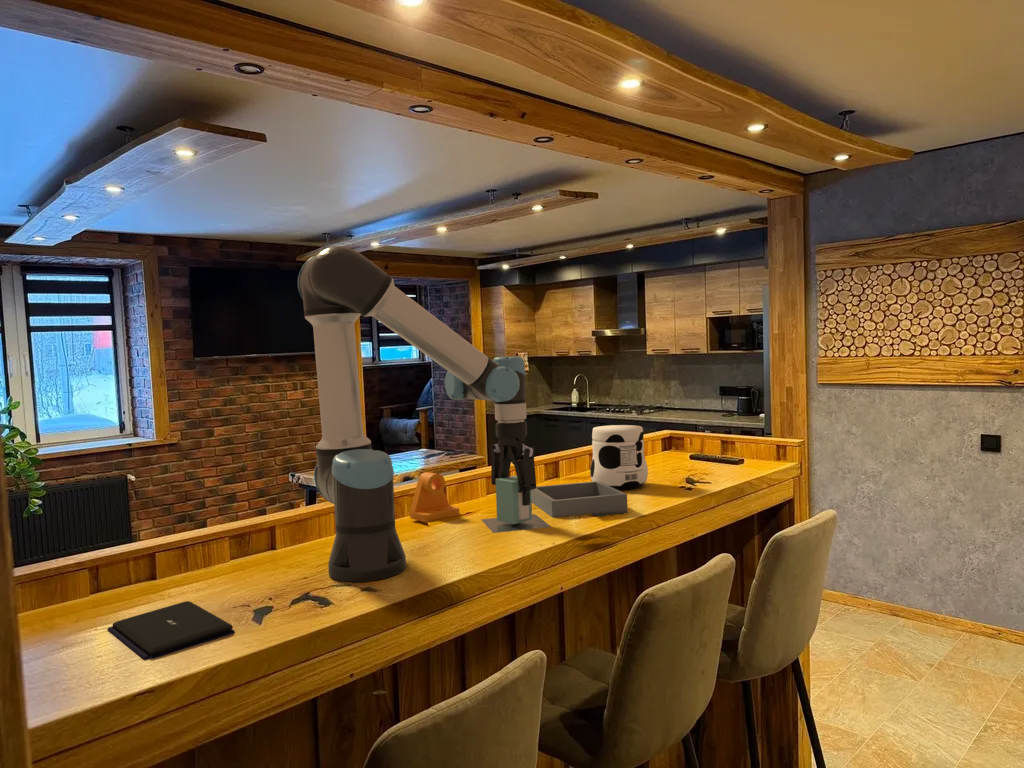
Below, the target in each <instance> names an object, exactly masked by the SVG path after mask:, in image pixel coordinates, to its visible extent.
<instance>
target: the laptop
mask: <svg viewBox="0 0 1024 768" xmlns="http://www.w3.org/2000/svg"><path fill="white" fill-rule="evenodd" d="M111 625H112V626H109V627H108V628H107V631H108V632H109V633H110V634H111V635H112V636H114V638H116V639H117V640H119V641H120V642H121V643H122V644H123V645H125V646H126V647H127V648H128V649H129V650H131V651H132V652H133V653H135V654H136V655H137V656H138V657H140V659H142V660H143V661H146V660H149V659H151V660H155V659H157V658H160V657H162V656H163V657H164V656H167V655H169V654H172V653H176V652H179V651H182V650H185V649H189V648H192V647H195V646H198V645H201V644H205V643H207V642H211V641H214V640H216V639H217V640H218V639H221V638H224V637H227V636H231V635H233V634H235V633H236V632H235V629H234V627H233V625H232V624H231V623H229V622H227V621H225V620H224V619H222V618H221V617H218V616H217V615H216V614H215V615H214V614H213V613H211V612H209V611H208V610H206V609H204V608H203V607H200V606H199V605H197V604H195V603H193V602H192V601H189V600H187V601H183V602H177V603H176V604H171V605H169V606H165V607H162V608H158V609H155V610H152V611H148V612H144V613H141V614H138V615H134V616H131V617H128V618H124V619H120V620H118V621H115V622H113V623H112V624H111Z"/></svg>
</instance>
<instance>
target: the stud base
mask: <svg viewBox="0 0 1024 768" xmlns="http://www.w3.org/2000/svg"><path fill="white" fill-rule="evenodd" d="M480 521H481V522H482V523H484V525H485V526H486V527H487V529H489V530H490V531H491V532H492V533H493V534H495V533H496V534H497V533H506V532H508V533H509V532H515V531H525V530H526V531H527V530H536V529H546V528H552V526H551V525H550V524H549V523H547V522H546V521H545V520H544V519H542V518H541V517H540V516H539V515H537V514H536V513H532V520H529V521H525V522H521V523H517V524H510V523H506V522H501V521H497V517H492V518H491V517H490V518H482V519H480Z"/></svg>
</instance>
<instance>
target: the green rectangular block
mask: <svg viewBox="0 0 1024 768" xmlns="http://www.w3.org/2000/svg"><path fill="white" fill-rule="evenodd" d="M524 487H525V486H524ZM519 490H520V487H519V483H518V478H517V475H511V476H510V475H509V476H508V477H505V478H500V479H497V478H496V485H495V501H496V504H495V505H496V518H497V521H501V522H506V523H510V524H517V523H521V522H525V521H529V520H532V514H533V508H532V507H533V506H532V505H533V503H532V500H531V491H530V505H529V518H527V519H523V520H519V509H518V491H519Z"/></svg>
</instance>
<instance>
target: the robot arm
mask: <svg viewBox="0 0 1024 768" xmlns="http://www.w3.org/2000/svg"><path fill="white" fill-rule="evenodd" d="M297 289H298V292H299V295H300V298H301V299H302V301H303V302H302V303H303V311H304V314H303V315H304V318H305V320H306V321H308V322H309V324H311V326H312V328H313V329H312V330H313V340H314V341H313V342H314V352H315V353H314V355H315V366H316V377H317V388H318V401H319V402H318V403H319V414H320V415H319V416H320V424H321V425H320V426H321V427H320V428H321V436H322V437H321V439H320V441H319V442H318V443H317V444H316V445H315V454H316V464H315V467H314V473H313V480H314V484H315V487H316V489H317V491H318V493H319V494H320V496H322V498H324V499H325V500H326V501H328V502H329V503H330V504H333V505H334V521H335V523H334V525H335V537H334V540H333V545H332V549H331V552H330V555H329V560H328V565H327V566H328V567H327V568H328V576H329V577H330V578H332V579H333V580H337V581H342V582H354V583H355V582H369V581H377V580H383V579H387V578H390V577H392V576H396V575H398V574H401V573H403V571H405V570H406V568H407V559H406V558H407V556H406V553H405V551H404V547H403V546H402V543H401V540H400V537H399V534H398V532H397V530H396V529H397V528H396V516H395V515H396V513H395V491H394V490H395V489H394V488H395V487H394V486H395V485H394V474H395V471H394V467H393V460H392V457H391V456H390V455H389V454H388V453H386V452H384V451H382V450H377V449H376V450H374V449H373V447H372V441H371V439H370V438H368V437H367V436H366V435H365V434H364V428H363V427H364V426H363V417H362V416H363V415H362V414H363V413H362V405H361V392H360V390H361V389H360V379H359V365H358V355H357V354H358V353H357V352H358V351H357V339H356V328H355V326H356V325H355V323H356V321H357V320H358V319H359V318H360V317H361V316H363V317H364V318H366V317H373V318H374V319H376V320H377V321H378V322H380V323H381V324H382V325H384V326H385V327H386V328H388V330H389V329H390V331H392V332H394V333H395V334H396V335H398V336H399V337H401V338H402V339H403V340H404V341H406V342H407V343H408V344H410V345H412V346H413V347H414V348H415V349H417V350H418V351H420V352H421V353H422V354H424V355H425V356H427V357H428V358H430V359H431V360H432V361H434V362H435V363H437V364H438V365H439V366H441V367H442V368H443V369H445V370H446V371H447V372H446V373H445V378H444V386H445V387H444V388H445V391H446V395H447V396H448V398H449V399H450V400H455V401H456V400H459V401H464V400H479V401H487V402H488V401H490V402H494V419H495V421H497V422H496V423H495V436H496V438H498V442H497V443H495V444H490V445H489V449H490V454H491V456H490V457H491V471H490V473H491V476H490V477H491V481H490V482H491V485H493V486H494V485H495V486H496V479H500V478H505V477H510V475H509V474H510V470H511V466H512V465H513V466H514V470H515V473H516V476H517V478H518V483H519V487H520V490H519V491H518V509H519V520H523V519H527V518H529V505H530V491H531V490H533V489H536V487H537V476H536V466H535V465H536V464H535V453H536V448H535V447H529V446H527V443H526V440H525V439H526V437H527V436H528V422H527V421H526V419H527V396H526V395H527V394H526V375H527V374H526V368H525V360H524V358H523V357H522V356H499V357H498V356H497V357H494V358H493V359H491V358H490V357H488V356H487V355H486V354H485V353H483V352H482V351H481V350H479V349H478V348H476V347H475V346H474V345H473V344H472V343H470V342H469V341H468V340H467V339H465V338H463V337H462V336H461V335H460V334H459V333H457V332H456V331H454V330H453V329H452V328H450V327H449V326H448V325H446V323H444V322H442V321H441V320H440V319H439V318H438V317H436V316H434V314H432V313H431V312H429V311H428V310H427V309H425V308H424V307H423V306H422V305H420V304H419V303H418V302H416V301H415V300H413V299H412V297H409V296H408V295H407V294H405V292H403V291H402V290H401V289H400V288H399V287H396V286H395V282H394V278H393V277H392V276H391V275H389V274H388V273H387V272H385V271H384V270H383V269H381V267H379V266H378V265H376V264H375V263H374V262H373V261H371V260H370V259H369V258H367V257H366V256H364V255H363V254H362V253H360V252H358V251H356V250H354V249H353V248H349V247H346V246H341V245H339V246H331V247H327V248H325V249H323V250H322V251H320V252H319V253H318V254H315V255H313V256H311V257H310V258H309V259H307V260H306V261H305V262H304V264H303V265H302V266H301V269H300V271H299V273H298V276H297ZM511 464H512V465H511ZM524 486H525V487H524Z"/></svg>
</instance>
